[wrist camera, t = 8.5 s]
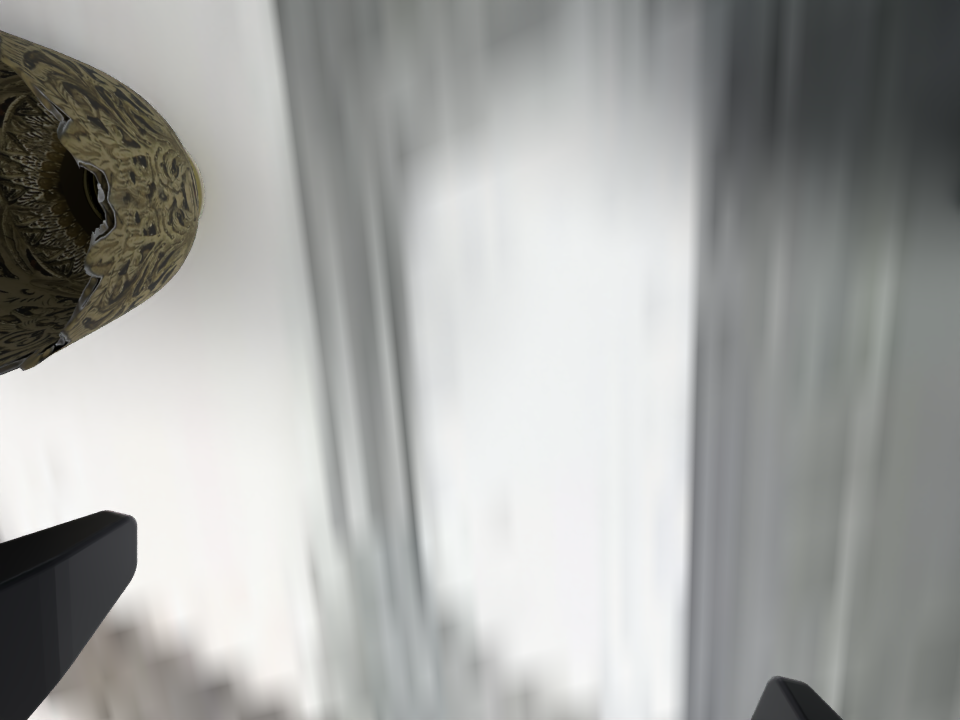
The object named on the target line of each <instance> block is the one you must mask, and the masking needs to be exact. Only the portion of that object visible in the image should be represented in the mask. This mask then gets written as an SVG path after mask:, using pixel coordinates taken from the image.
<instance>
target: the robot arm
mask: <svg viewBox="0 0 960 720" xmlns="http://www.w3.org/2000/svg"><path fill="white" fill-rule="evenodd" d="M136 567H137V522H136V520H135V518H133V517H132V516H130V515H126V514H122V513H118V512H114V511H109V510H105V511H100V512H97V513H94V514H91V515H88V516H85V517H82V518H78V519H75V520H72V521H69V522H66V523H63V524H60V525H57V526H53V527H50V528H47V529H44V530H41V531H38V532H35V533H32V534H28V535H25V536H22V537H19V538H16V539H13V540H10V541H6V542H3V543H0V720H27V719H28V718H29V717H30V716H31V715H32V713H33V712H34V711H35V710H36V709H37V707H38V706H39V705H40V704H41V703H42V702H43V700H44V699H45V698H46V697H47V696H48V694H49V693H50V692H51V691H52V690H53V688H54V687H55V686H56V685H57V683H58V682H59V681H60V680H61V678H62V677H63V676H64V674H65V673H66V672H67V670H68V669H69V668H70V666H71V665H72V664H73V662H74V661H75V660H76V658H77V657H78V655H79V654H80V652H81V651H82V650H83V648H84V647H85V645H86V644H87V643H88V641H89V640H90V638H91V637H92V635H93V634H94V633H95V631H96V630H97V628H98V627H99V625H100V624H101V623H102V621H103V620H104V618H105V617H106V616H107V614H108V613H109V611H110V610H111V608H112V607H113V606H114V604H115V603H116V601H117V600H118V599H119V597H120V596H121V594H122V593H123V591H124V590H125V589H126V587H127V586H128V584H129V583H130V581H131V580H132V578H133V576H134V573H135V571H136ZM751 720H843V719H842V718H841V717H840V716H839V715H838V714H837V713H836V712H835V711H834V710H833V709H832V708H831V707H830V706H829V705H828V704H827V703H826V702H825V701H824V700H823V699H822V698H821V697H820V696H819V695H818V694H817V693H816V692H815V691H814V690H813V689H812V688H811V687H810V686H808V685H807V684H806V683H804V682H801V681H798V680H793V679H789V678H785V677H781V676H774V677H772V678H771V679H770V680H769V681H768V683H767V684H766V687H765V689H764V691H763V693H762V696H761V698H760V700H759V702H758V704H757V707H756V709H755V711H754V713H753V715H752V718H751Z"/></svg>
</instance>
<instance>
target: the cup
mask: <svg viewBox="0 0 960 720" xmlns="http://www.w3.org/2000/svg"><path fill="white" fill-rule="evenodd" d="M204 201H205V190H204V183H203V179H202V176H201V173H200V171H199V168H198V166H197V164H196V163H195V161H194V159H193V158H192V157H191V155H190V154H189V153H188V151H187V150H186V149H185V148H184V147H183V146H182V144H181V142H180V140H179V139H178V137H177V135H176V134H175V132H174V131H173V130H172V128H171V127H170V126H169V124H168V123H167V122H166V120H165V119H164V118H163V117H162V116H161V115H160V114H159V113H158V112H157V111H156V110H155V109H154V108H153V107H152V106H151V105H150V104H149V103H148V102H147V101H146V100H144V99H143V98H142V97H141V96H140V95H139V94H137V93H136V92H134V91H133V90H132V89H130V88H129V87H127V86H126V85H124V84H123V83H121V82H119V81H118V80H116V79H114V78H113V77H111V76H109V75H107V74H106V73H104V72H102V71H100V70H98V69H96V68H94V67H92V66H90V65H87V64H85V63H83V62H80V61H78V60H76V59H73V58H71V57H69V56H66V55H64V54H61V53H59V52H57V51H54V50H51V49H49V48H46V47H43V46H41V45H38V44H35V43H33V42H30V41H27V40H25V39H22V38H19V37H17V36H14V35H11V34H8V33H6V32H3V31H0V375H2V374H5V373H8V372H10V371H13V370H15V369H18V368H21V369H22V370H23V371H24V370H27V369H30V368H32V367H34V366H36V365H37V364H39V363H41V362H42V361H43V360H45V359H46V358H48V357H49V356H50V355H52V354H54V353H56V352H58V351H59V350H61V349H63V348H65V347H67V346H68V345H70V344H72V343H74V342H76V341H78V340H79V339H81V338H83V337H85V336H87V335H88V334H90V333H92V332H94V331H96V330H97V329H99V328H101V327H103V326H105V325H106V324H108V323H110V322H112V321H113V320H115V319H117V318H119V317H120V316H122V315H124V314H125V313H127V312H129V311H130V310H132V309H133V308H135V307H137V306H138V305H140V304H141V303H143V302H144V301H146V300H147V299H149V298H150V297H151V296H153V295H154V294H155V293H156V292H158V291H159V290H160V289H161V288H162V287H163V286H164V285H166V284H167V283H168V282H169V281H170V280H171V278H172V277H173V276H174V275H175V274H176V273H177V272H178V270H179V269H180V267H181V266H182V264H183V263H184V261H185V259H186V257H187V255H188V253H189V252H190V250H191V247H192V245H193V242H194V239H195V236H196V231H197V227H198V221H199V219H200V217H201V214H202V211H203V207H204Z"/></svg>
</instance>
